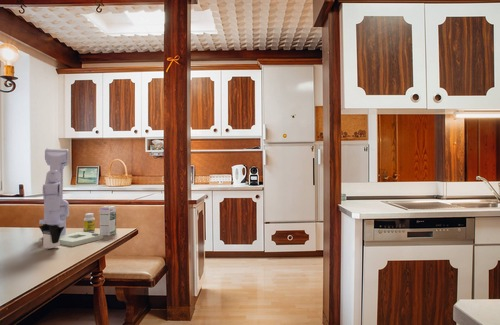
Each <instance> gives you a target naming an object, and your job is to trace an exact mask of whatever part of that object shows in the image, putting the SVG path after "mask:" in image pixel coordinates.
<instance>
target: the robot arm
mask: <svg viewBox="0 0 500 325" xmlns="http://www.w3.org/2000/svg"><path fill="white" fill-rule="evenodd" d="M44 160H45V163H46V165H47V166H49V170H48V172H46V176H45V181H44V182H45V183H44V184H43V186H42V196H43V219H39V220H38V224H39V225H40V226H38V228H39V229H40V231H41V233H42V234H43V231H46V230H50V232H51V236H52V243H58V241H59V237H60V236H61V235H66V234H67V225H66V224H67V218H69V216H70V203H69V202H68V200H66V199H65V198H63V197H64V196H63V195H64V193H63V191H64V189H63V188H64V169H65V167H67V166H68V165H69V164H70V161H69V160H70V151H69V148H67V149H66V148H61V149H60V148H46V149H45V150H44Z"/></svg>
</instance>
